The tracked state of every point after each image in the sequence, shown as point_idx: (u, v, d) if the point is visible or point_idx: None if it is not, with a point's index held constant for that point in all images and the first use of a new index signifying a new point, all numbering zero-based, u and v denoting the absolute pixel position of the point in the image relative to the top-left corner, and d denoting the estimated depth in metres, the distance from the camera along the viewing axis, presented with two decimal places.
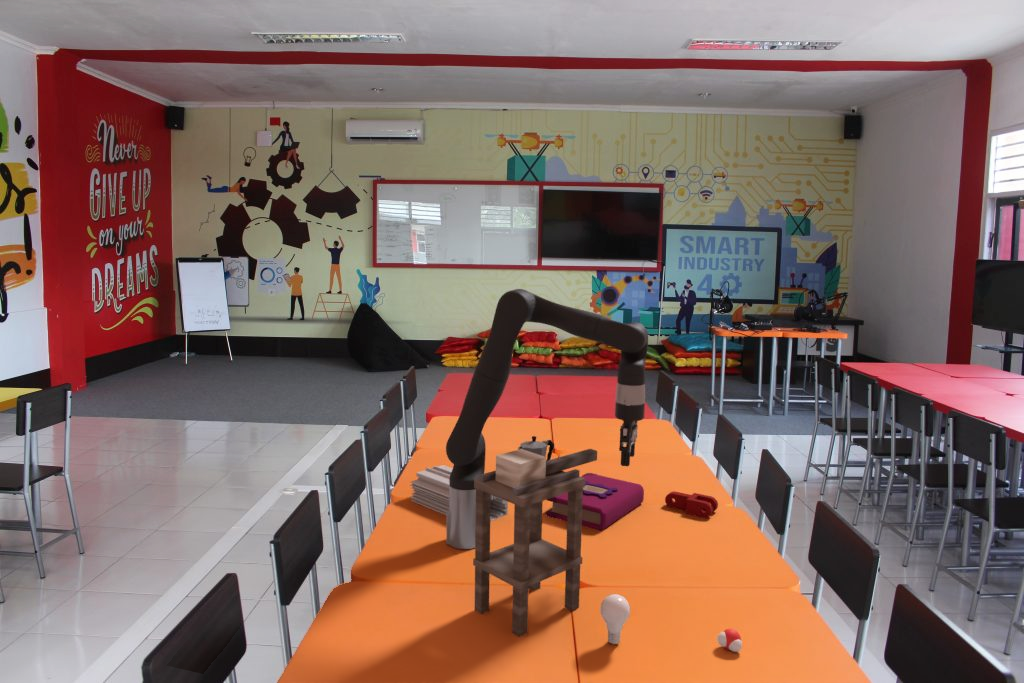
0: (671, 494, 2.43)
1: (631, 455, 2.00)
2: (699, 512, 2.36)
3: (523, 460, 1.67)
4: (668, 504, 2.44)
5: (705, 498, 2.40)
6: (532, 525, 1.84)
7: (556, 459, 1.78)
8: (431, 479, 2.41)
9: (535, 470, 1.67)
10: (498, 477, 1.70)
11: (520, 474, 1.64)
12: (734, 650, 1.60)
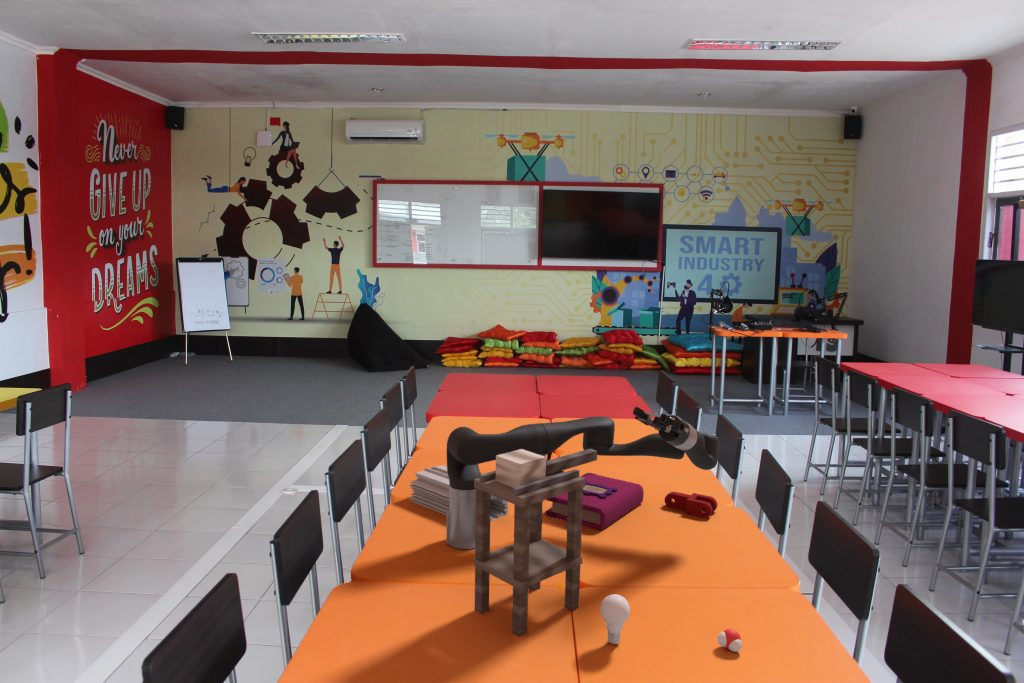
0: (670, 494, 2.43)
1: None
2: (699, 512, 2.36)
3: (523, 460, 1.67)
4: (668, 504, 2.44)
5: (705, 498, 2.40)
6: (532, 525, 1.84)
7: (556, 459, 1.78)
8: (431, 479, 2.41)
9: (535, 470, 1.67)
10: (498, 477, 1.70)
11: (520, 474, 1.64)
12: (734, 650, 1.60)
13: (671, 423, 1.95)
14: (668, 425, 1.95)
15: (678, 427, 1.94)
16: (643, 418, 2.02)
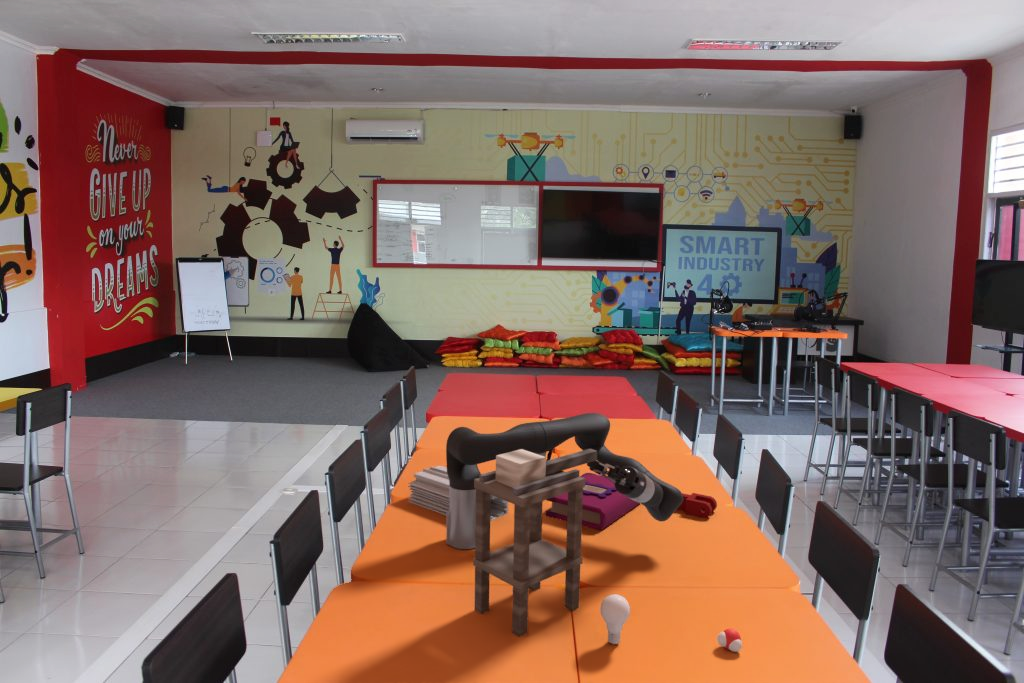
0: None
1: None
2: (698, 512, 2.36)
3: (523, 460, 1.67)
4: None
5: (704, 498, 2.40)
6: (532, 525, 1.84)
7: (556, 459, 1.78)
8: (430, 480, 2.40)
9: (535, 470, 1.67)
10: (498, 477, 1.70)
11: (520, 474, 1.64)
12: (734, 650, 1.60)
13: (625, 476, 1.87)
14: (622, 478, 1.87)
15: (633, 480, 1.86)
16: (598, 469, 1.94)
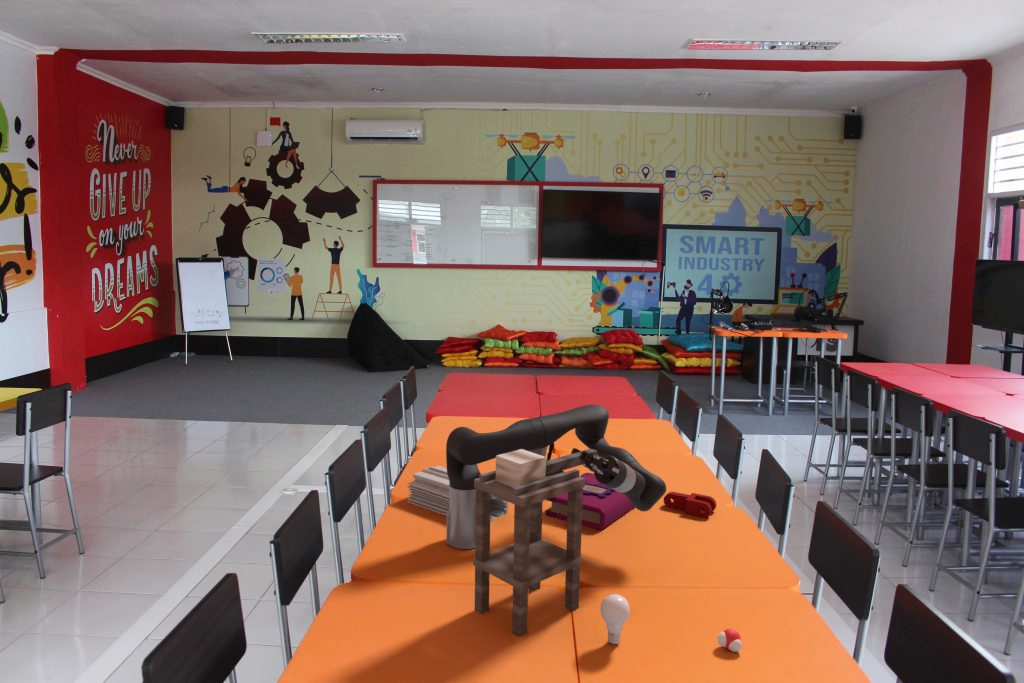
0: (669, 494, 2.43)
1: None
2: (698, 512, 2.36)
3: (523, 460, 1.67)
4: (667, 504, 2.44)
5: (704, 498, 2.40)
6: (532, 525, 1.84)
7: (556, 459, 1.78)
8: (429, 480, 2.40)
9: (535, 470, 1.67)
10: (498, 477, 1.70)
11: (520, 474, 1.64)
12: (734, 650, 1.60)
13: (593, 461, 1.83)
14: (589, 463, 1.84)
15: (599, 465, 1.83)
16: None
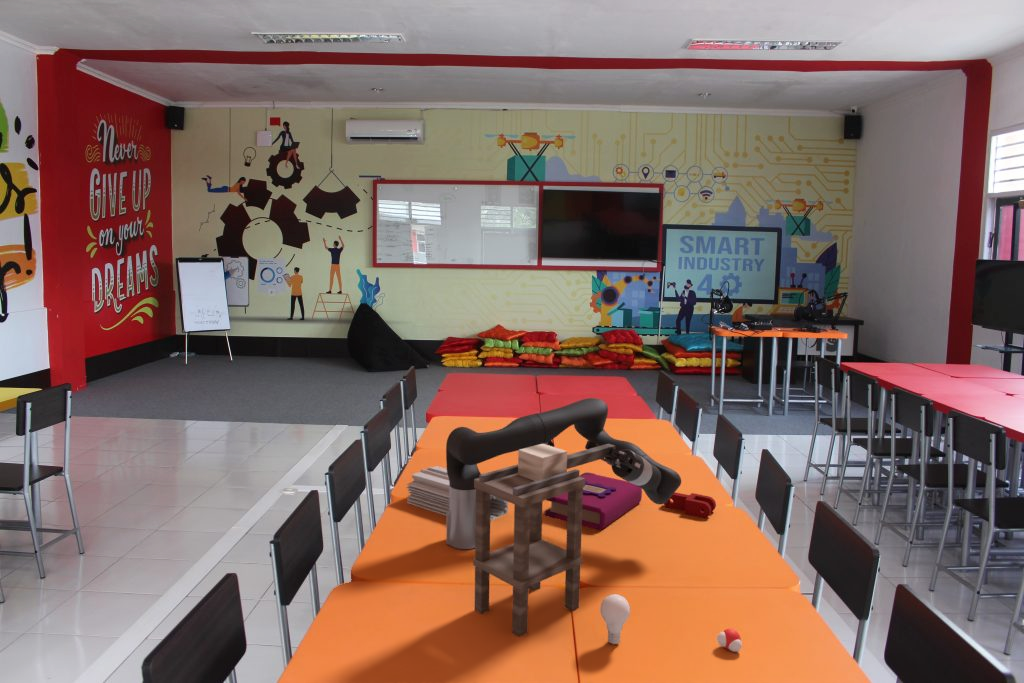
0: None
1: None
2: (698, 512, 2.36)
3: (545, 454, 1.71)
4: (666, 504, 2.43)
5: (703, 498, 2.40)
6: (532, 525, 1.84)
7: (576, 453, 1.83)
8: (429, 480, 2.40)
9: (557, 463, 1.72)
10: (520, 471, 1.74)
11: (543, 468, 1.69)
12: (734, 650, 1.60)
13: (619, 457, 1.87)
14: (615, 459, 1.87)
15: (625, 461, 1.86)
16: None
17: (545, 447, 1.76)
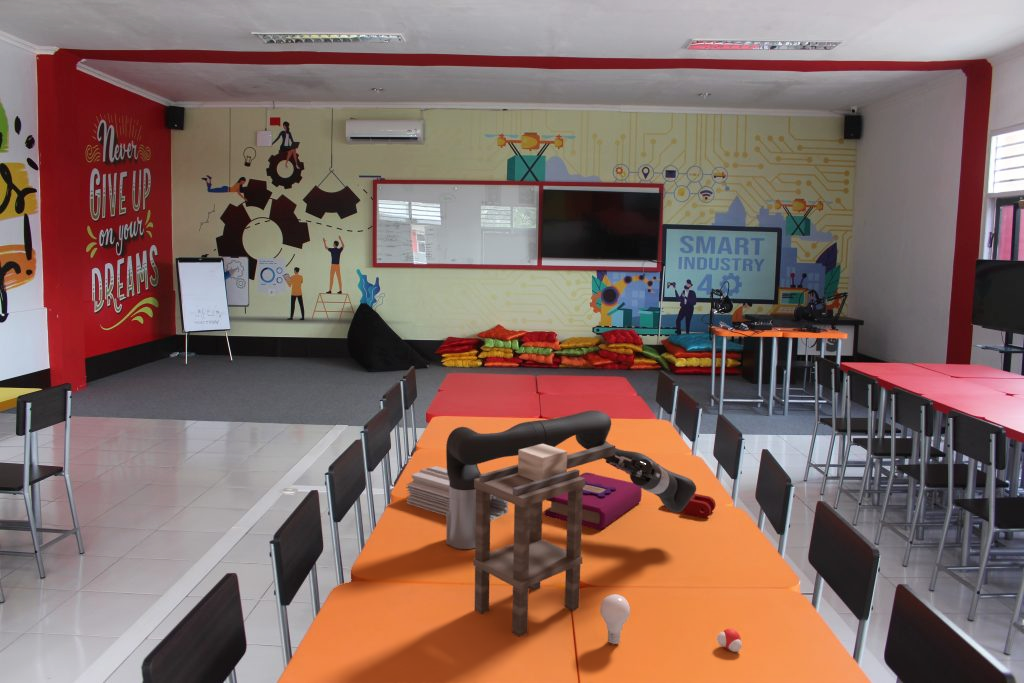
0: None
1: None
2: (697, 512, 2.36)
3: (545, 454, 1.71)
4: None
5: (703, 498, 2.40)
6: (532, 525, 1.84)
7: (576, 453, 1.83)
8: (429, 481, 2.40)
9: (557, 463, 1.72)
10: (520, 471, 1.74)
11: (543, 468, 1.69)
12: (734, 650, 1.60)
13: (642, 468, 1.91)
14: (639, 470, 1.92)
15: (649, 472, 1.91)
16: (614, 462, 1.99)
17: (545, 447, 1.76)
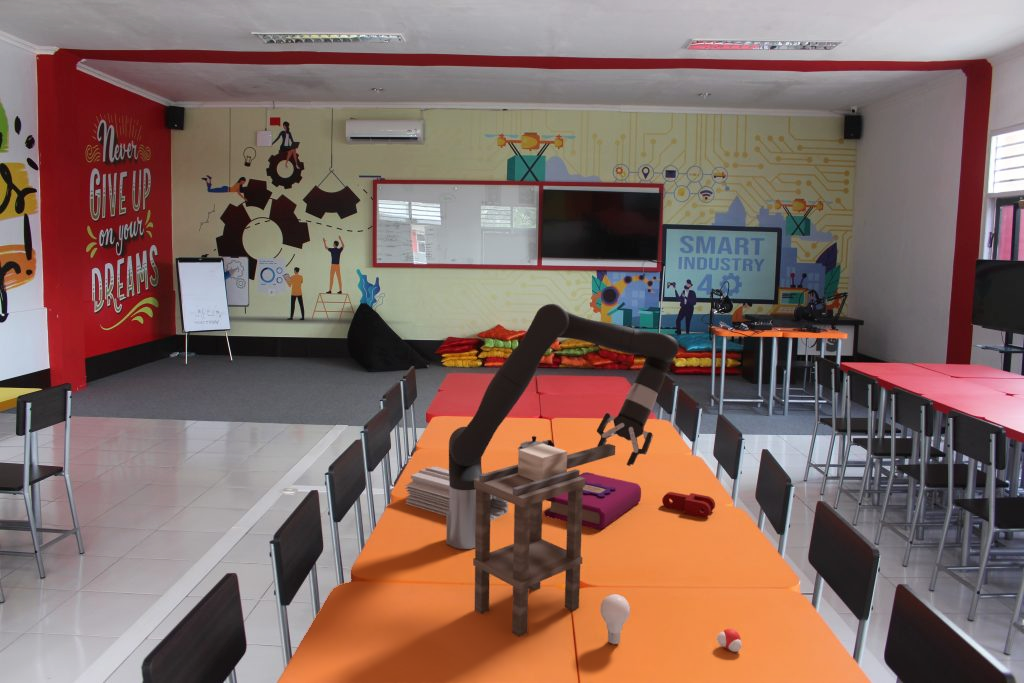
0: (668, 495, 2.42)
1: (627, 463, 1.98)
2: (697, 512, 2.36)
3: (545, 454, 1.71)
4: (665, 504, 2.43)
5: (702, 498, 2.40)
6: (532, 525, 1.84)
7: (576, 453, 1.83)
8: (428, 481, 2.39)
9: (557, 463, 1.72)
10: (520, 471, 1.74)
11: (543, 468, 1.69)
12: (734, 650, 1.60)
13: (637, 454, 1.99)
14: None
15: (645, 453, 1.99)
16: (607, 436, 2.03)
17: (545, 447, 1.76)
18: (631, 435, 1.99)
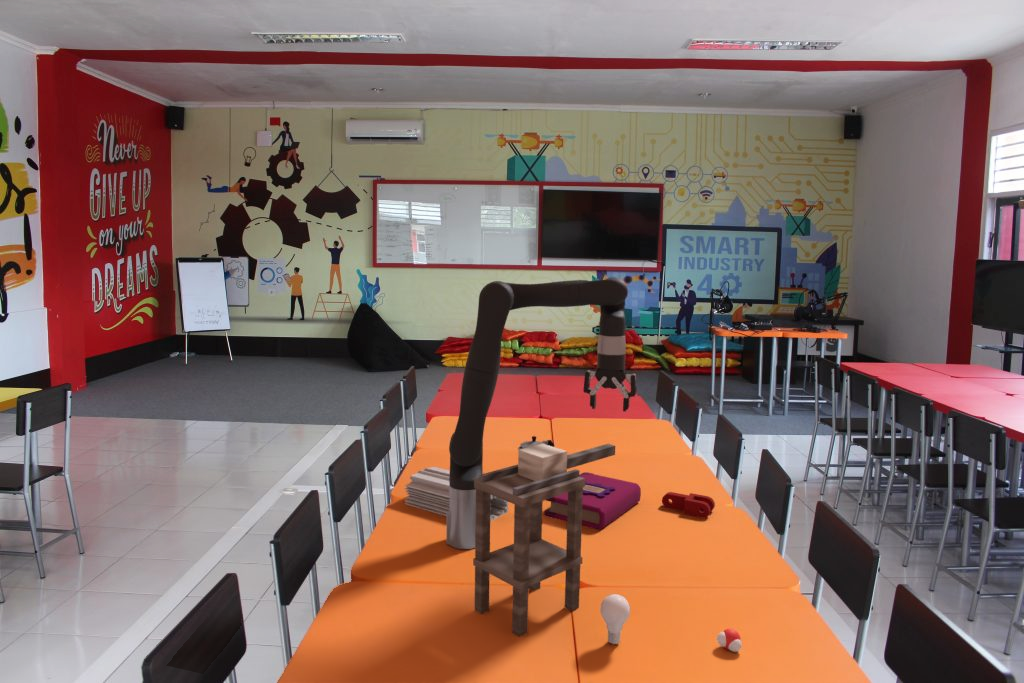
0: (668, 495, 2.42)
1: (623, 410, 2.04)
2: (697, 512, 2.36)
3: (545, 454, 1.71)
4: (665, 505, 2.43)
5: (702, 498, 2.40)
6: (532, 525, 1.84)
7: (576, 453, 1.83)
8: (428, 481, 2.39)
9: (557, 463, 1.72)
10: (520, 471, 1.74)
11: (543, 468, 1.69)
12: (734, 650, 1.60)
13: (629, 397, 2.04)
14: None
15: (635, 393, 2.04)
16: None
17: (545, 447, 1.76)
18: (616, 384, 2.02)
